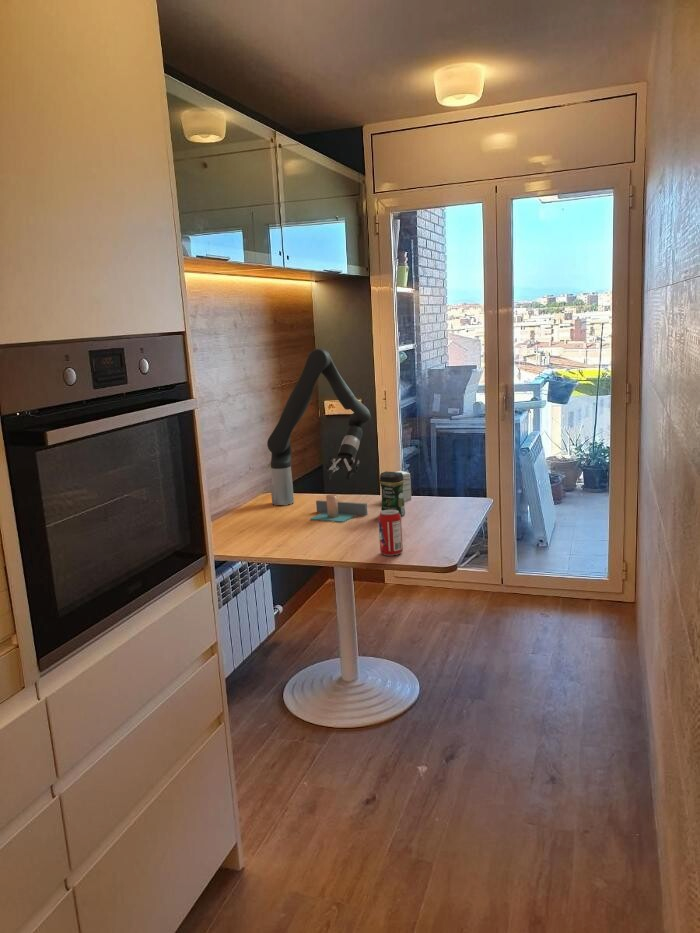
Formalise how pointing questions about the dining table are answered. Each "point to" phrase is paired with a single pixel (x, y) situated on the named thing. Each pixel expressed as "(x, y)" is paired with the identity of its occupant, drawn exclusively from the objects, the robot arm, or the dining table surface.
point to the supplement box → (406, 486)
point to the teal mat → (340, 518)
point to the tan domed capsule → (332, 506)
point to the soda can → (390, 532)
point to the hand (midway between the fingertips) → (337, 479)
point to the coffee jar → (392, 491)
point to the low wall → (344, 507)
